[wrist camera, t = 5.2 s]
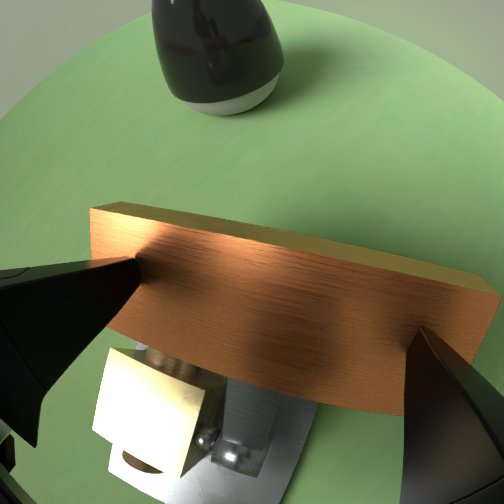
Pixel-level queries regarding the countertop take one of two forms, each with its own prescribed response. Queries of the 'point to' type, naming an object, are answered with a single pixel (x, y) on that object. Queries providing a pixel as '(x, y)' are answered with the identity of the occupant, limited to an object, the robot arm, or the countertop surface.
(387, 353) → the lever
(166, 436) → the valve
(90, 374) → the countertop surface
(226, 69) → the pump dispenser
